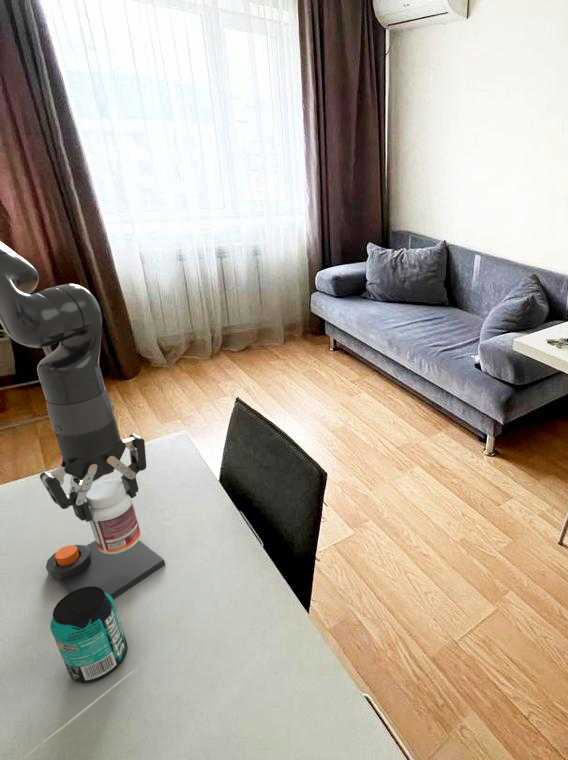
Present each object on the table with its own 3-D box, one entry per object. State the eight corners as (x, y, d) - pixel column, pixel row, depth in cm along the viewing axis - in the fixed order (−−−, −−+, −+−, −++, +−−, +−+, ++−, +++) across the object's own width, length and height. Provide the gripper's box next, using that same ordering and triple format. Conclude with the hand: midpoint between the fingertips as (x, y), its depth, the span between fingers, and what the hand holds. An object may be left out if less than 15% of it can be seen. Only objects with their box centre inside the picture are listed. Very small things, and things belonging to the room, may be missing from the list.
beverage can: (108, 631, 75) (89, 574, 70) (139, 651, 73) (122, 594, 68) (59, 672, 69) (34, 613, 64) (90, 695, 67) (67, 636, 62)
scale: (44, 574, 84) (39, 561, 82) (121, 530, 94) (117, 518, 92) (87, 617, 77) (83, 603, 76) (165, 565, 87) (162, 552, 86)
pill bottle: (149, 532, 86) (136, 480, 81) (121, 559, 80) (105, 505, 75) (118, 525, 86) (103, 473, 82) (88, 551, 81) (71, 497, 76)
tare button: (54, 561, 83) (51, 553, 82) (74, 549, 85) (71, 542, 85) (62, 569, 82) (60, 561, 81) (82, 557, 84) (80, 550, 83)
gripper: (121, 393, 80) (141, 475, 87) (13, 432, 69) (47, 523, 76) (147, 407, 77) (166, 492, 84) (38, 451, 66) (71, 544, 73)
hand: (109, 506), depth 80 cm, fingers closed on pill bottle, 6 cm apart
